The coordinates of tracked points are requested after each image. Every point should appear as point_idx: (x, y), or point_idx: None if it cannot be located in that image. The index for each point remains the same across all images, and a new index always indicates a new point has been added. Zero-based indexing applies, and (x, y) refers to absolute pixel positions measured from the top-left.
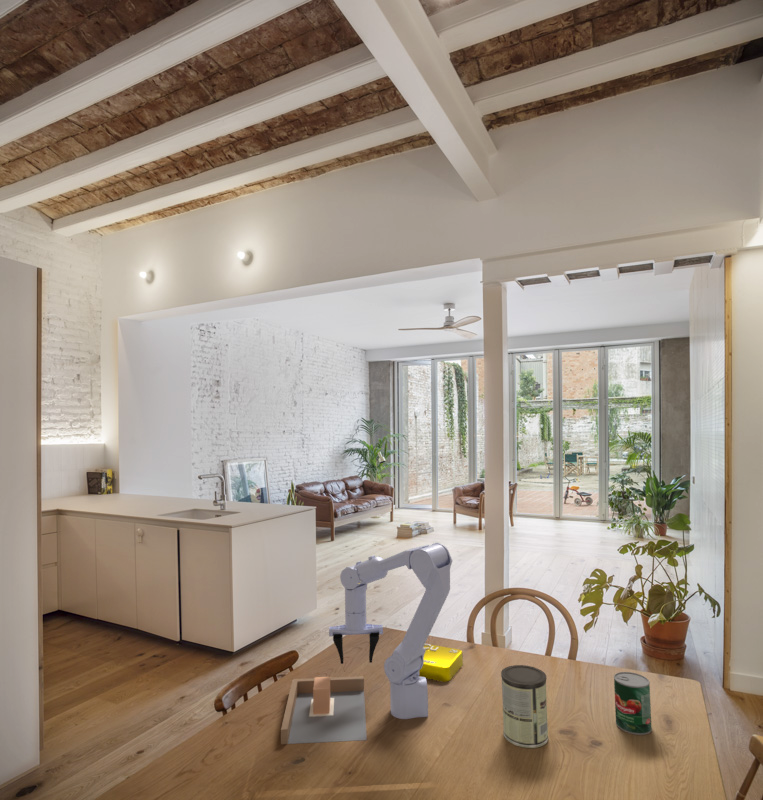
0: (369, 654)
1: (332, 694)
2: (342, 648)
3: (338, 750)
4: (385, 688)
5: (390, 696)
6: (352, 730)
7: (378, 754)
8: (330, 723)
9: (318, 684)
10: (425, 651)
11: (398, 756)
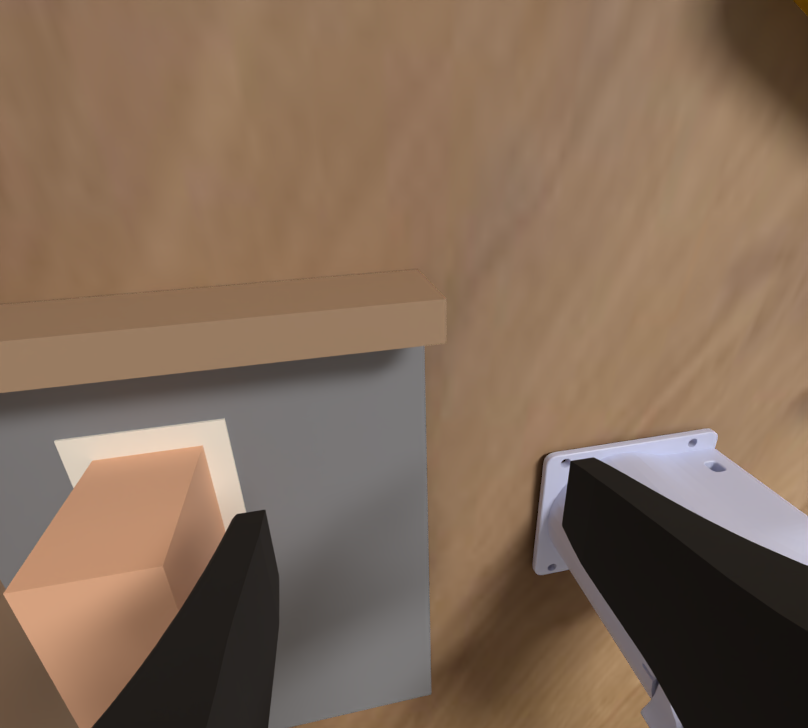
0: (610, 546)
1: (198, 371)
2: (245, 721)
3: (326, 724)
4: (565, 228)
5: (590, 587)
6: (373, 660)
7: (465, 713)
8: None
9: (101, 685)
10: None
11: (525, 708)
